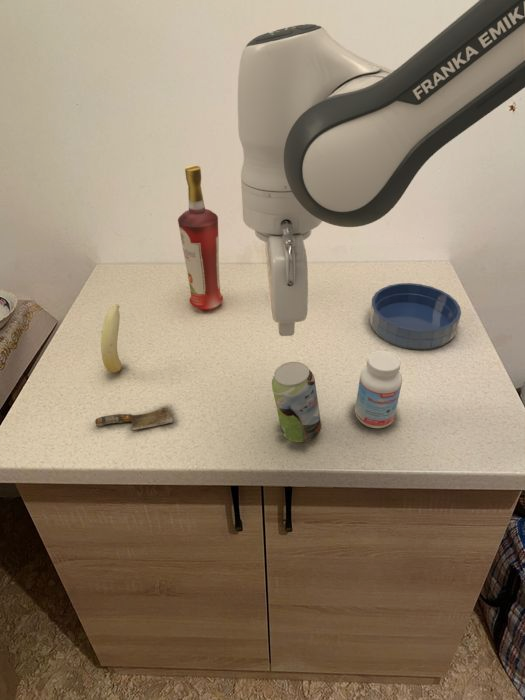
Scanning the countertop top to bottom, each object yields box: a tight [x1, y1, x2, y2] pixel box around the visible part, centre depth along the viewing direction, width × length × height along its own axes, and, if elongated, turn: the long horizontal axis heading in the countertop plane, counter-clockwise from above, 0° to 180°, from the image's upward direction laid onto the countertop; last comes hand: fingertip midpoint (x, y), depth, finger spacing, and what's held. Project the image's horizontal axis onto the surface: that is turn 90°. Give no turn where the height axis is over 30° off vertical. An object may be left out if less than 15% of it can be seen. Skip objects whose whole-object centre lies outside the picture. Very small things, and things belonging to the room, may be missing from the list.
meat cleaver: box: [94, 406, 174, 431], centre depth 78 cm, size 12×1×5 cm
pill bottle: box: [354, 350, 403, 429], centre depth 75 cm, size 6×6×11 cm
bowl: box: [368, 282, 462, 351], centre depth 96 cm, size 16×16×4 cm
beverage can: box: [271, 361, 322, 443], centre depth 73 cm, size 6×7×12 cm
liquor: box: [177, 165, 224, 312], centre depth 95 cm, size 7×7×28 cm
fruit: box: [100, 303, 122, 374], centre depth 84 cm, size 6×12×3 cm
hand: (283, 310), depth 63 cm, fingers open, 8 cm apart
